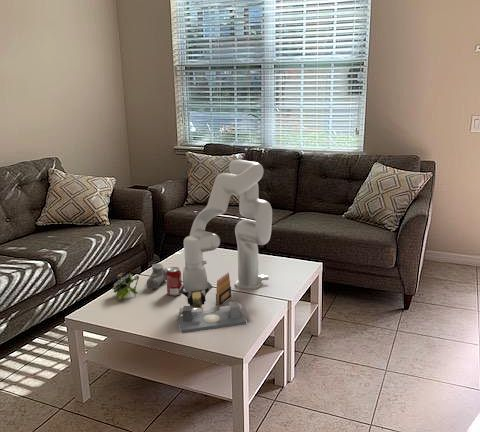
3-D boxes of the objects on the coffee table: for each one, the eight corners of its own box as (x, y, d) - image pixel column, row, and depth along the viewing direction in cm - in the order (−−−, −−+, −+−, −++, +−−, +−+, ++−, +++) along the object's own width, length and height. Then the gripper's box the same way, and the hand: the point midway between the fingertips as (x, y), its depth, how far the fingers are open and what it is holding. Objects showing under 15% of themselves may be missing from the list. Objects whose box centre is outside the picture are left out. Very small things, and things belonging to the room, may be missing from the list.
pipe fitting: (154, 278, 250) (153, 259, 246) (169, 281, 248) (169, 262, 244) (143, 290, 240) (142, 271, 235) (159, 293, 238) (158, 274, 233)
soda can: (179, 297, 230) (178, 272, 226) (165, 296, 231) (163, 271, 228) (184, 291, 236) (182, 266, 233) (170, 290, 237) (168, 266, 234)
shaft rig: (239, 311, 215) (238, 297, 213) (246, 324, 203) (246, 310, 202) (177, 319, 209) (176, 305, 207) (181, 333, 197) (180, 318, 196)
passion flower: (123, 305, 237) (127, 276, 241) (143, 305, 231) (148, 276, 236) (104, 299, 226) (109, 270, 231) (126, 299, 221) (131, 269, 225)
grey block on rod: (203, 316, 208) (202, 305, 207) (202, 321, 204) (201, 310, 202) (181, 316, 208) (180, 305, 207) (179, 321, 204) (179, 310, 202)
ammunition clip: (219, 306, 220) (218, 280, 217) (216, 305, 221) (215, 279, 218) (231, 296, 229) (230, 271, 226) (227, 295, 230) (227, 271, 227)
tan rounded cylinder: (201, 302, 222) (200, 287, 220) (203, 306, 218) (202, 291, 216) (190, 303, 221) (189, 288, 219) (192, 308, 217) (191, 293, 215)
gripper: (212, 259, 219) (214, 297, 225) (173, 264, 216) (176, 303, 221) (215, 265, 212) (217, 305, 218) (175, 270, 209) (178, 311, 214)
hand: (196, 303), depth 219 cm, fingers closed on tan rounded cylinder, 4 cm apart
